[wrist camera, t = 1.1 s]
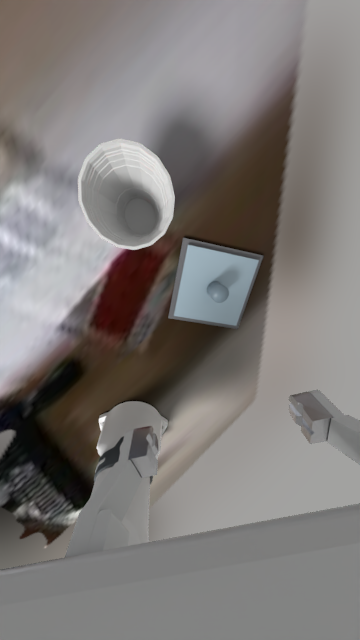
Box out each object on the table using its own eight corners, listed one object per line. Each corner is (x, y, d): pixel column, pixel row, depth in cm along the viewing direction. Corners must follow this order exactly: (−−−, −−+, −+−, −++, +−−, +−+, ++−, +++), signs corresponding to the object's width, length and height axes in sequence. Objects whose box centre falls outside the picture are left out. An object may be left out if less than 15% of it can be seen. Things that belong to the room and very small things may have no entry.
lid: (234, 324, 40) (243, 334, 35) (173, 314, 38) (174, 323, 33) (257, 259, 35) (270, 262, 30) (187, 244, 33) (191, 244, 28)
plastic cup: (180, 193, 30) (188, 162, 19) (161, 257, 34) (159, 262, 23) (115, 164, 28) (82, 111, 17) (103, 236, 32) (70, 230, 21)
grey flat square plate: (236, 327, 41) (237, 328, 40) (168, 317, 38) (168, 318, 38) (261, 255, 35) (263, 255, 34) (183, 237, 33) (183, 237, 32)
